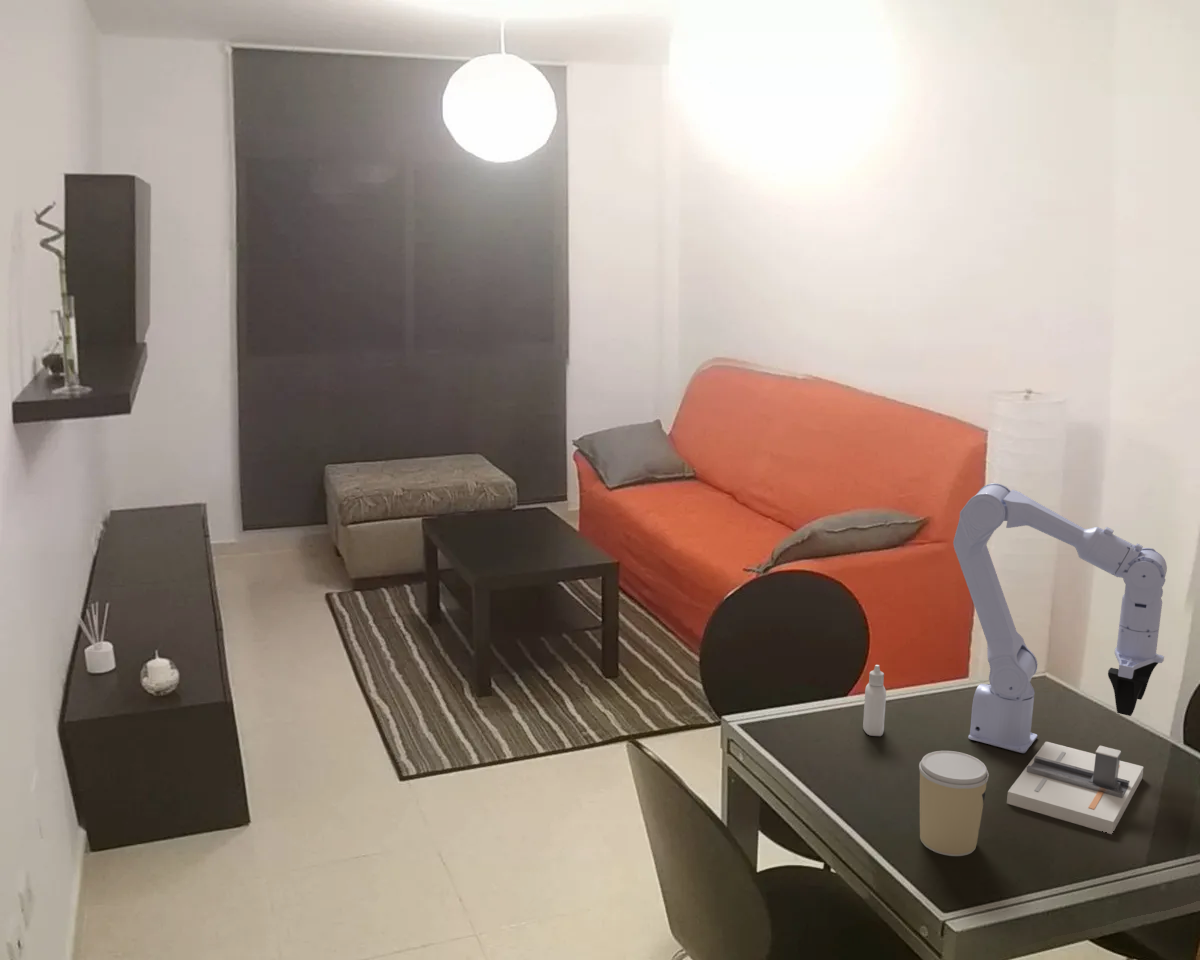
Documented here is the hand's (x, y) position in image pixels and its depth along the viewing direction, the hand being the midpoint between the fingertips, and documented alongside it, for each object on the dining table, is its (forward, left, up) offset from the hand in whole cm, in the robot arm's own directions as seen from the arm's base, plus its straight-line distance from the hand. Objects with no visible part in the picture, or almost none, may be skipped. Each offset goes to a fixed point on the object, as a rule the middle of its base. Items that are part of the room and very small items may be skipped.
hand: (1129, 705), depth 181 cm
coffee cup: (-15, -40, -11) cm, 44 cm away
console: (-4, -14, -10) cm, 18 cm away
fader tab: (0, -14, -8) cm, 16 cm away
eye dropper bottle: (-38, -12, -11) cm, 41 cm away
